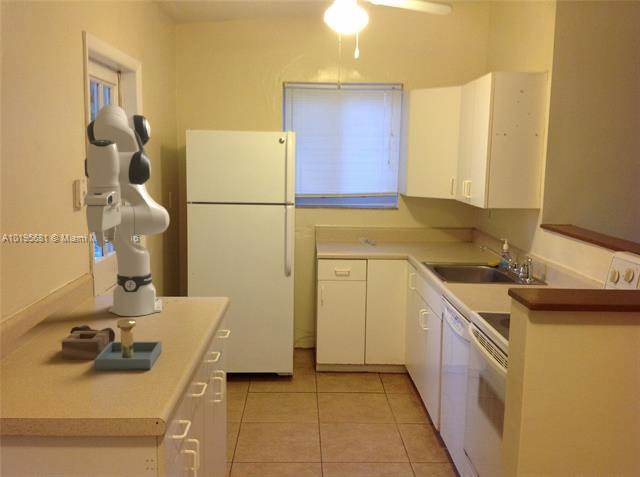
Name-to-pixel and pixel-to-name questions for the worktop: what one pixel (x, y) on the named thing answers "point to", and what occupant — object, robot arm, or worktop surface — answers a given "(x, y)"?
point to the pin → (126, 337)
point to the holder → (84, 344)
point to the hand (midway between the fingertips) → (106, 243)
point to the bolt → (87, 328)
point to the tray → (142, 358)
